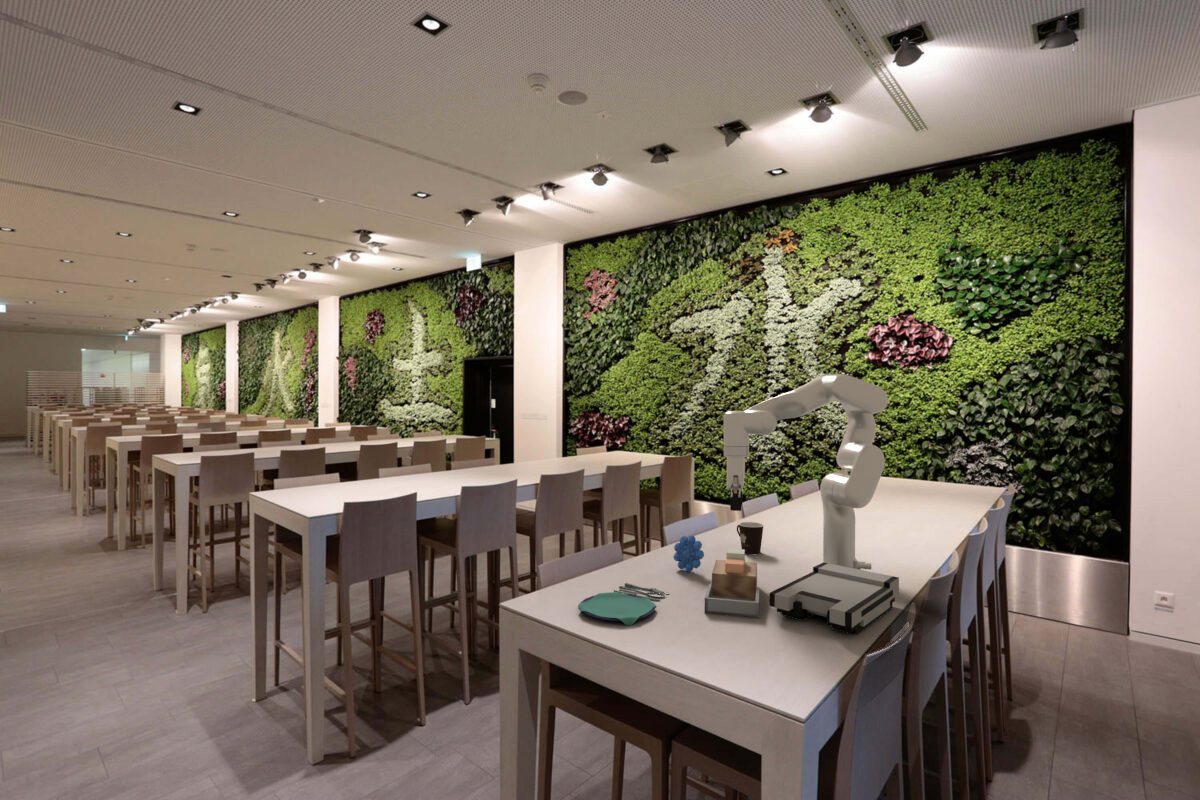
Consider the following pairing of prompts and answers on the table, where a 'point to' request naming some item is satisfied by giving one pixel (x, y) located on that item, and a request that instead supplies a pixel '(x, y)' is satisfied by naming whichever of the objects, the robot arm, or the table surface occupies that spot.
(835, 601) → the game console
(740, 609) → the bin
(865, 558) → the table surface
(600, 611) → the cutlery set
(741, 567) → the terracotta block
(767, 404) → the robot arm
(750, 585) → the brown box
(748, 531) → the coffee mug
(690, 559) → the grapes
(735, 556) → the sage block
